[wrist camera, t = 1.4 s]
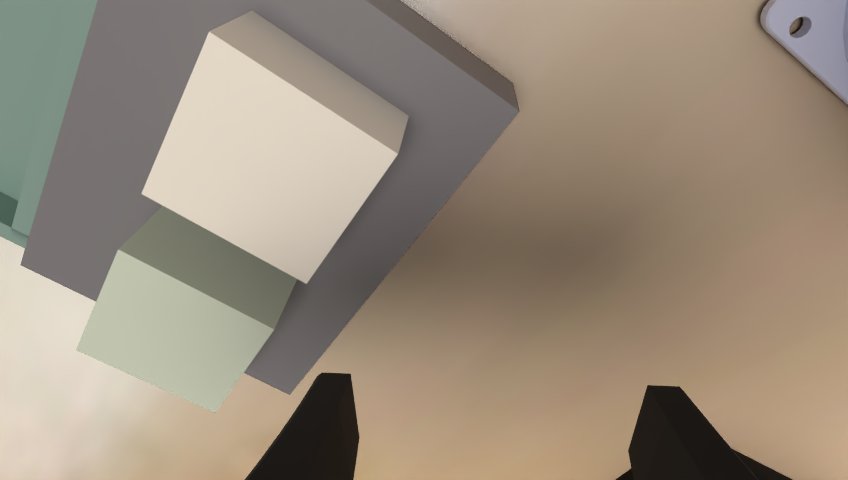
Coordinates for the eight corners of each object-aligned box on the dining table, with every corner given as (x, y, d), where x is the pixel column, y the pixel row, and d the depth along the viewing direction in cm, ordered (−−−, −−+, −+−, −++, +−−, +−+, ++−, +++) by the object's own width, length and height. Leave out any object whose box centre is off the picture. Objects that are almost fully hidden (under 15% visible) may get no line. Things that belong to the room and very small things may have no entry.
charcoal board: (512, 83, 16) (519, 111, 14) (306, 348, 22) (289, 394, 20) (196, -150, 13) (144, -160, 11) (68, 226, 20) (20, 265, 17)
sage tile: (298, 276, 17) (274, 329, 15) (243, 356, 19) (215, 412, 17) (164, 203, 16) (118, 249, 14) (122, 297, 18) (76, 349, 16)
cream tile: (408, 115, 14) (398, 154, 12) (327, 233, 16) (306, 283, 14) (252, 10, 13) (208, 31, 11) (187, 152, 15) (141, 193, 13)
